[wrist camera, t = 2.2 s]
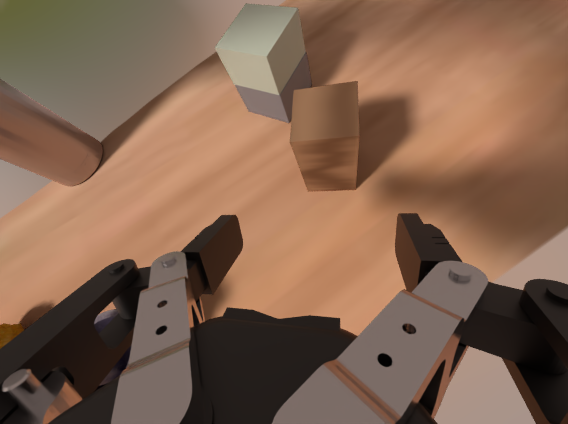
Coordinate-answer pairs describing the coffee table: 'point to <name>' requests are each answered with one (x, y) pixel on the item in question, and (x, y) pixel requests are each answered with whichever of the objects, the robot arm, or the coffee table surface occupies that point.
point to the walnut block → (326, 135)
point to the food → (9, 333)
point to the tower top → (262, 47)
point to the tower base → (282, 103)
